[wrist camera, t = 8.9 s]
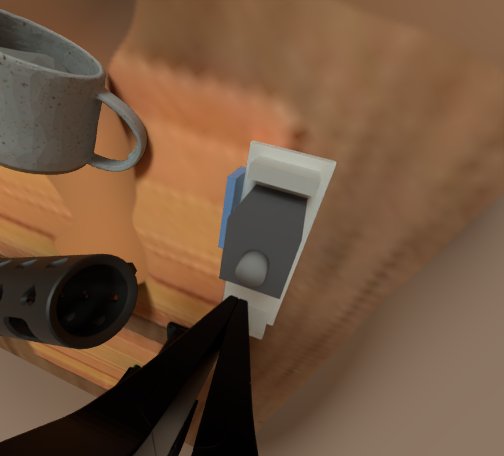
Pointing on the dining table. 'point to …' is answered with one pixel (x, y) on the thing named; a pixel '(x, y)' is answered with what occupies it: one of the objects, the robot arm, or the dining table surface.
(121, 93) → the dining table surface
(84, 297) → the muzzle brake
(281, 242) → the dark grey knobbed block
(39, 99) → the ceramic mug
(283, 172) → the white ridged plate
